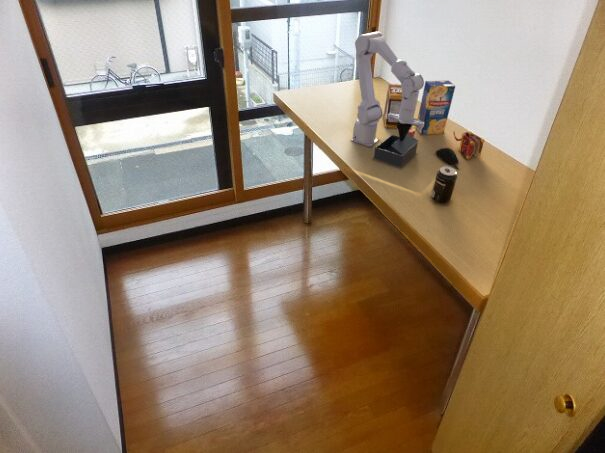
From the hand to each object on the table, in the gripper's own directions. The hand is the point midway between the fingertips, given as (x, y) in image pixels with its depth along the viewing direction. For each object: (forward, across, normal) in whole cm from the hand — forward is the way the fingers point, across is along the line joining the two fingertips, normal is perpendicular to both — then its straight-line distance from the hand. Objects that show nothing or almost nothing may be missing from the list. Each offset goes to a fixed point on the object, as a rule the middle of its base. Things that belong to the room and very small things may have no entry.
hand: (402, 139), depth 171 cm
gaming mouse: (+8, +17, +11) cm, 22 cm away
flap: (+1, +1, 0) cm, 2 cm away
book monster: (+8, +20, +20) cm, 30 cm away
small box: (+8, -4, +15) cm, 18 cm away
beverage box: (+8, 0, +33) cm, 34 cm away
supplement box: (+8, -17, +32) cm, 37 cm away
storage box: (+8, -2, 0) cm, 8 cm away
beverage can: (+8, +25, -19) cm, 33 cm away
